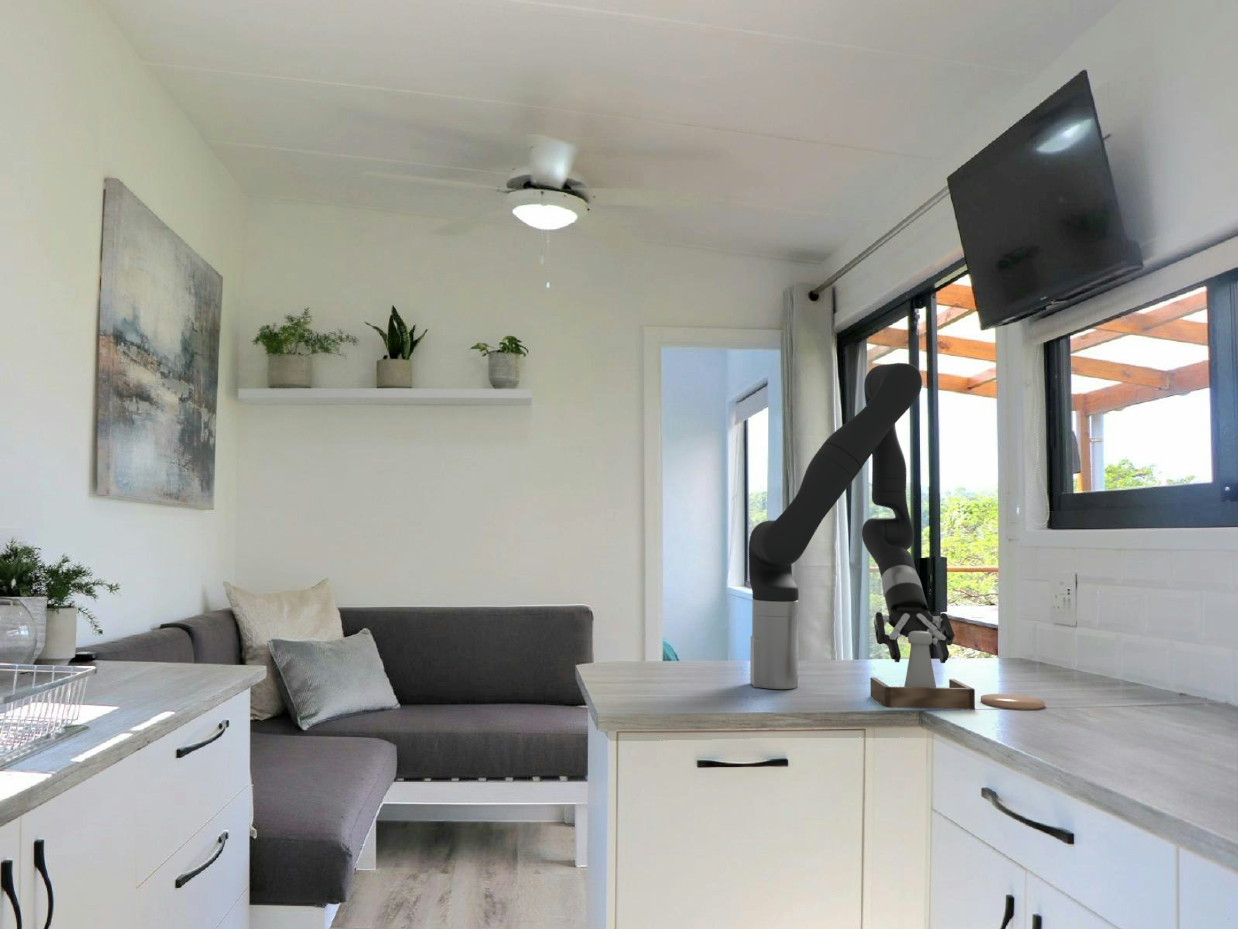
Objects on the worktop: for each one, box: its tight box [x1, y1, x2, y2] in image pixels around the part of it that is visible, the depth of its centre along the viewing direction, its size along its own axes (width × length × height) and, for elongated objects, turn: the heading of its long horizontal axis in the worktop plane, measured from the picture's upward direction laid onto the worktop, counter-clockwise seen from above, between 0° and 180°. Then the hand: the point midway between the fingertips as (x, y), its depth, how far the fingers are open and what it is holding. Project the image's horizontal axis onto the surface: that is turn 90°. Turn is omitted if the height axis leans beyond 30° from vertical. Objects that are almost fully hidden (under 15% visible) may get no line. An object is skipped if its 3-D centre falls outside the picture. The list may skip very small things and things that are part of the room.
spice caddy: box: [869, 677, 976, 710], centre depth 177 cm, size 16×11×4 cm
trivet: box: [980, 693, 1046, 711], centre depth 177 cm, size 11×11×1 cm
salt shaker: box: [903, 631, 937, 688], centre depth 178 cm, size 6×6×13 cm
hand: (921, 660), depth 177 cm, fingers open, 8 cm apart
